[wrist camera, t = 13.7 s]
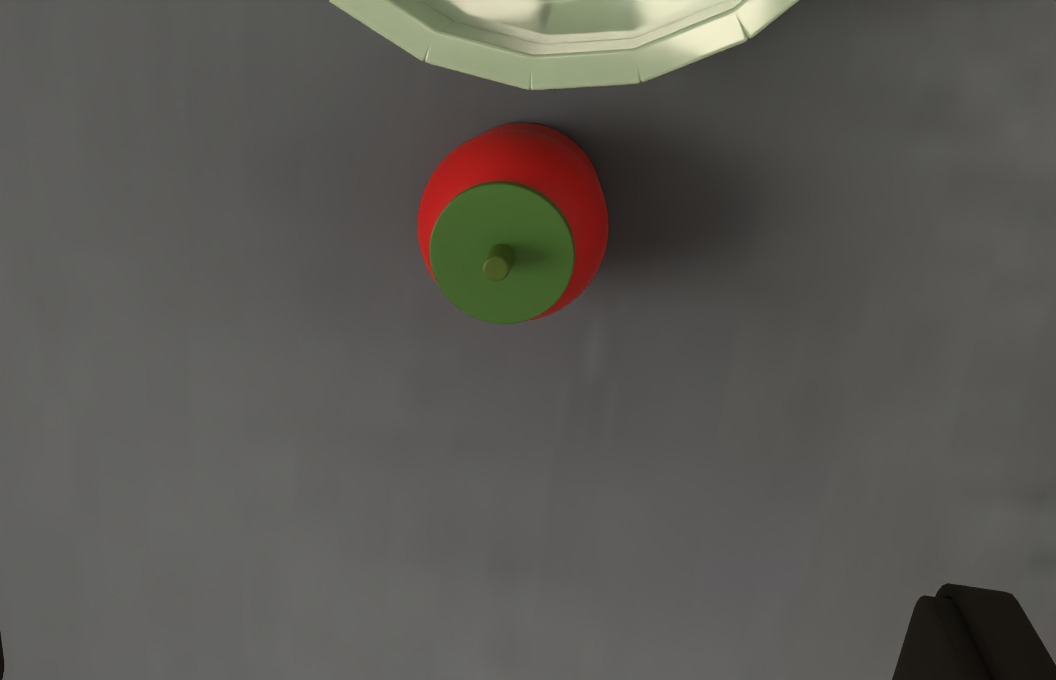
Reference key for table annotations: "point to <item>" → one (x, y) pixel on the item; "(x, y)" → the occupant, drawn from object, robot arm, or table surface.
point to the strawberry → (513, 223)
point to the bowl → (565, 36)
